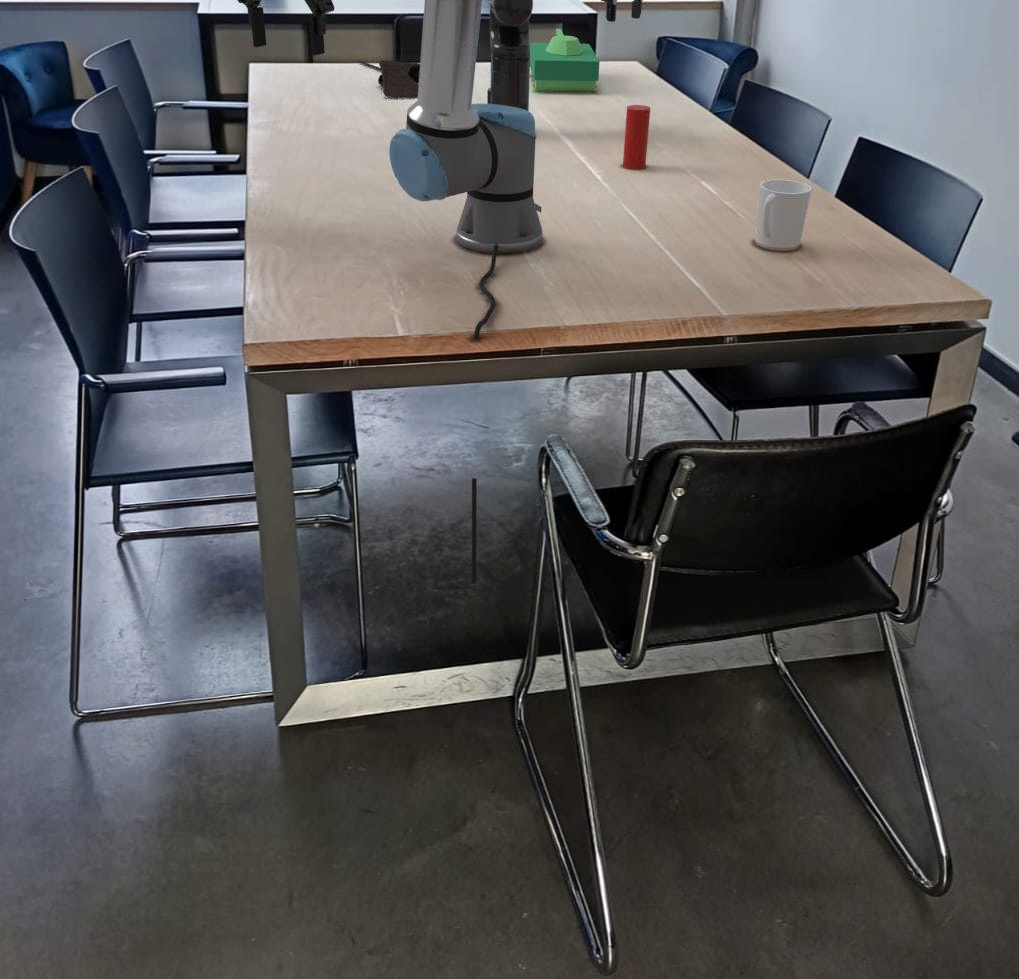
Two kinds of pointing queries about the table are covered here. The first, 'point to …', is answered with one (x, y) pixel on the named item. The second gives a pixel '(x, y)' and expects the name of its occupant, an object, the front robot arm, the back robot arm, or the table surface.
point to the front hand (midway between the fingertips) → (288, 50)
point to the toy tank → (563, 65)
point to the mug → (781, 214)
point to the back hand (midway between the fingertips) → (623, 19)
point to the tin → (636, 136)
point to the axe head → (399, 79)
